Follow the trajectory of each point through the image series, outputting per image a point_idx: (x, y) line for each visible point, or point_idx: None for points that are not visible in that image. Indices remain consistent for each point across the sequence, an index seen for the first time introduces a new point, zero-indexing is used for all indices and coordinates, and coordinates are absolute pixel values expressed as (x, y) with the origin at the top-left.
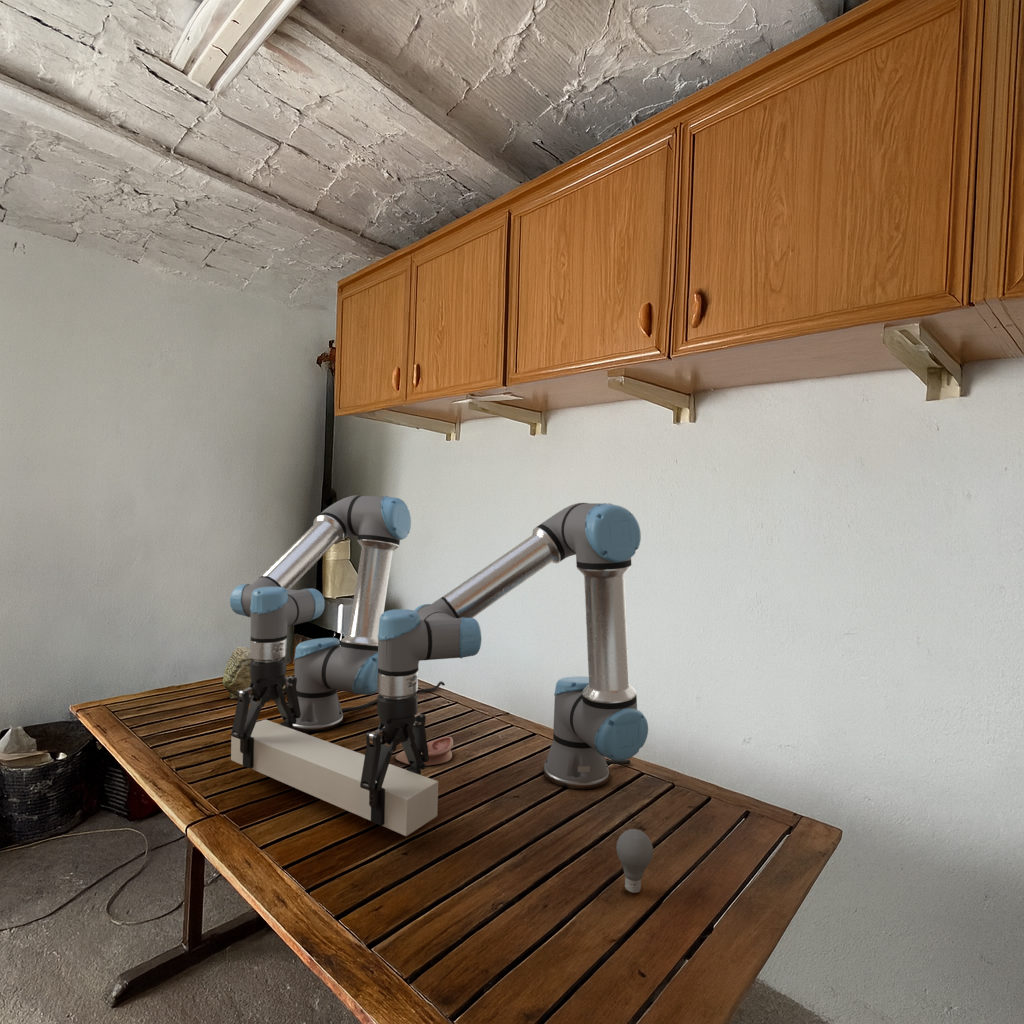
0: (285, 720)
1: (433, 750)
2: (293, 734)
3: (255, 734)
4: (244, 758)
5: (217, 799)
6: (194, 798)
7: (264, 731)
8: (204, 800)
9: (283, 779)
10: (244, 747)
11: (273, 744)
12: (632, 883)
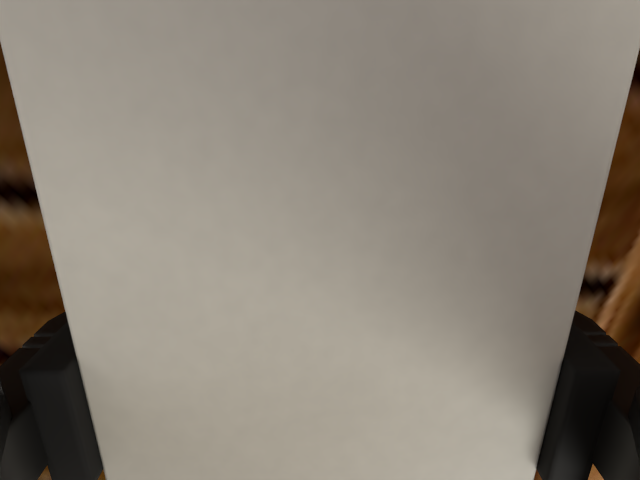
0: (26, 475)
1: None
2: (145, 98)
3: (448, 446)
4: None
5: (599, 231)
6: (636, 316)
7: (335, 442)
8: (633, 268)
9: None
10: (609, 346)
11: (587, 9)
12: None
